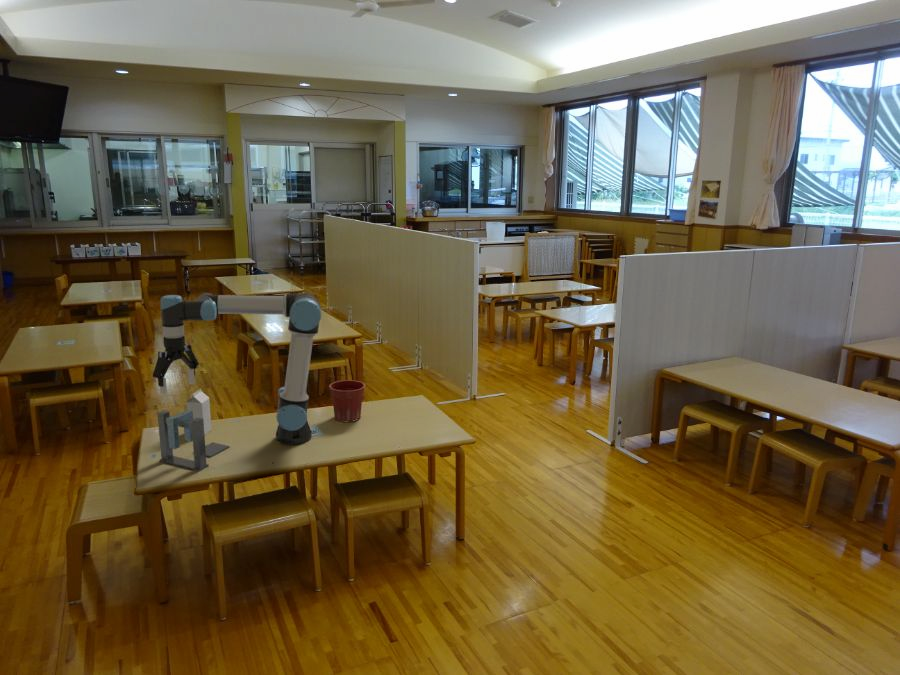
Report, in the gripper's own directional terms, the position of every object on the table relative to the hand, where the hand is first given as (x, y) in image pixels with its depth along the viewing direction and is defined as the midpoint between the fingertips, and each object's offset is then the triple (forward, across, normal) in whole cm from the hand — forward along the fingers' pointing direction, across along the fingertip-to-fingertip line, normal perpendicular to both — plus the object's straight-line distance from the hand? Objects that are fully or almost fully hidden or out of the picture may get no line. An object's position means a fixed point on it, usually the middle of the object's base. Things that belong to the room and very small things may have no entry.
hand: (178, 389), depth 250 cm
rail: (+29, +4, +5) cm, 29 cm away
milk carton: (+29, -22, -14) cm, 39 cm away
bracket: (+20, +4, +5) cm, 21 cm away
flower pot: (+29, -68, +33) cm, 81 cm away
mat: (+29, -10, +5) cm, 31 cm away
